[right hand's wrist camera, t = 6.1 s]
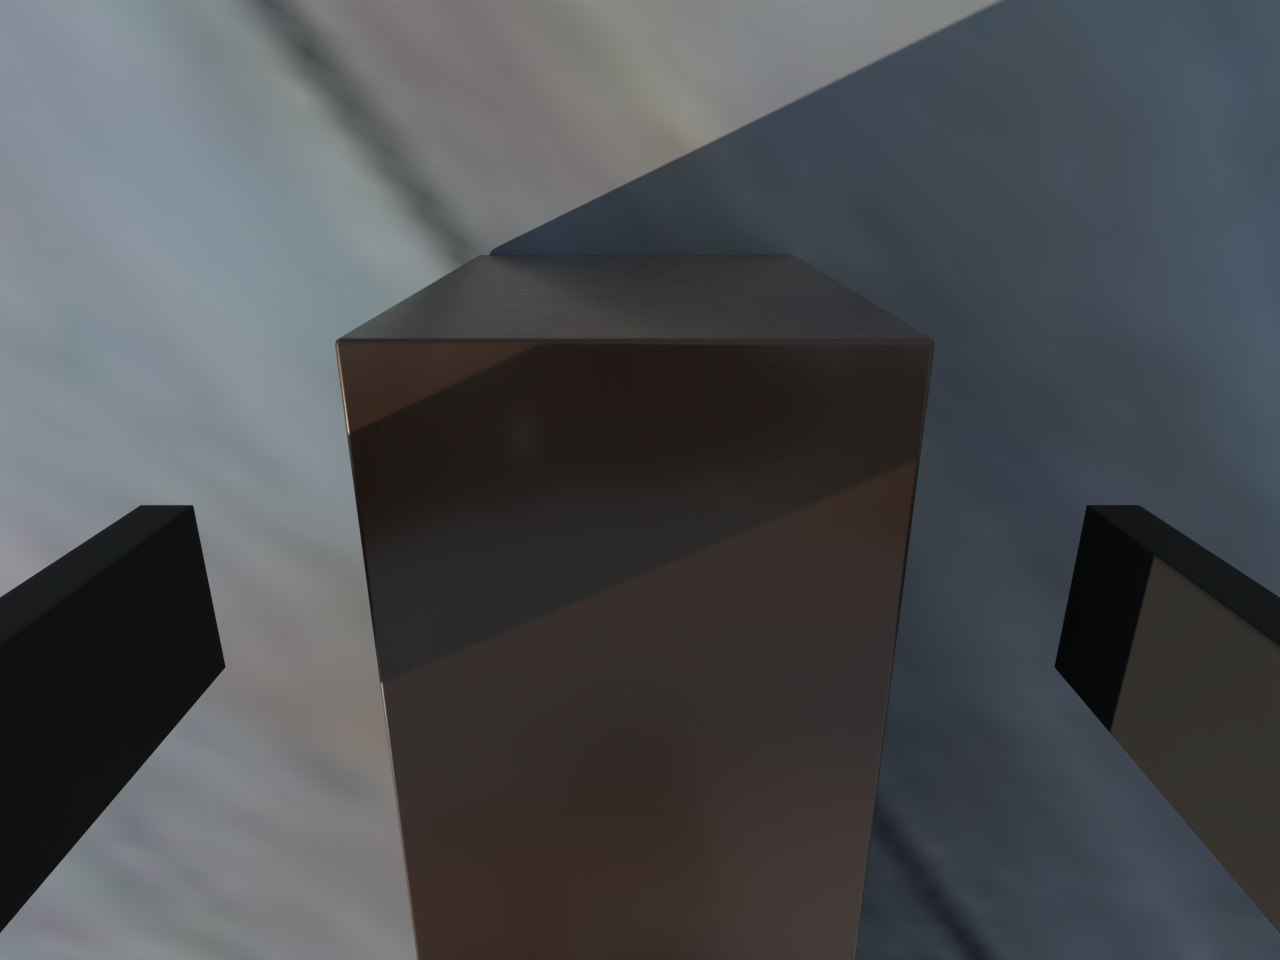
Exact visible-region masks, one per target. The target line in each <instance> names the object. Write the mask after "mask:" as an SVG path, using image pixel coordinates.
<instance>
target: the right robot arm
mask: <svg viewBox="0 0 1280 960" xmlns="http://www.w3.org/2000/svg"><path fill="white" fill-rule="evenodd" d="M224 668H225V663H224V658H223V653H222V648H221V643H220V638H219V633H218V628H217V623H216V618H215V613H214V608H213V603H212V598H211V593H210V588H209V583H208V578H207V573H206V568H205V563H204V558H203V553H202V548H201V543H200V538H199V533H198V528H197V523H196V518H195V513H194V508H193V505H141V506H139V507H138V508H136V509H135V510H133V511H131V512H130V513H128V514H127V515H125V516H124V517H122V518H121V519H119V520H118V521H116V522H115V523H113V524H112V525H110V526H109V527H107V528H106V529H104V530H103V531H101V532H99V533H98V534H96V535H95V536H93V537H92V538H90V539H89V540H87V541H86V542H84V543H83V544H81V545H80V546H78V547H77V548H75V549H74V550H72V551H71V552H69V553H67V554H66V555H64V556H63V557H61V558H60V559H58V560H57V561H55V562H54V563H52V564H51V565H49V566H48V567H46V568H45V569H43V570H42V571H40V572H38V573H37V574H35V575H34V576H32V577H31V578H29V579H28V580H26V581H25V582H23V583H22V584H20V585H19V586H17V587H16V588H14V589H13V590H11V591H10V592H8V593H6V594H5V595H3V596H2V597H0V932H1V931H2V930H3V929H4V928H5V927H6V925H7V924H8V923H9V922H10V921H11V919H12V918H13V917H14V916H15V915H16V914H17V912H18V911H19V910H20V909H21V908H22V906H23V905H24V904H25V903H26V902H27V901H28V899H29V898H30V897H31V896H32V895H33V893H34V892H35V891H36V890H37V889H38V888H39V886H40V885H41V884H42V883H43V882H44V881H45V879H46V878H47V877H48V876H49V875H50V873H51V872H52V871H53V870H54V869H55V868H56V866H57V865H58V864H59V863H60V862H61V860H62V859H63V858H64V857H65V856H66V855H67V853H68V852H69V851H70V850H71V849H72V847H73V846H74V845H75V844H76V843H77V842H78V840H79V839H80V838H81V837H82V836H83V835H84V833H85V832H86V831H87V830H88V829H89V827H90V826H91V825H92V824H93V823H94V822H95V820H96V819H97V818H98V817H99V816H100V814H101V813H102V812H103V811H104V810H105V809H106V807H107V806H108V805H109V804H110V803H111V801H112V800H113V799H114V798H115V797H116V796H117V794H118V793H119V792H120V791H121V790H122V789H123V787H124V786H125V785H126V784H127V783H128V781H129V780H130V779H131V778H132V777H133V776H134V774H135V773H136V772H137V771H138V770H139V768H140V767H141V766H142V765H143V764H144V763H145V761H146V760H147V759H148V758H149V757H150V755H151V754H152V753H153V752H154V751H155V750H156V748H157V747H158V746H159V745H160V744H161V742H162V741H163V740H164V739H165V738H166V737H167V735H168V734H169V733H170V732H171V731H172V730H173V728H174V727H175V726H176V725H177V724H178V722H179V721H180V720H181V719H182V718H183V717H184V715H185V714H186V713H187V712H188V711H189V709H190V708H191V707H192V706H193V705H194V704H195V702H196V701H197V700H198V699H199V698H200V696H201V695H202V694H203V693H204V692H205V691H206V689H207V688H208V687H209V686H210V685H211V684H212V682H213V681H214V680H215V679H216V678H217V676H218V675H219V674H220V673H221V672H222V671H223V669H224ZM1055 668H1056V669H1057V671H1058V672H1059V673H1060V674H1061V675H1062V676H1063V678H1064V679H1065V680H1066V681H1067V682H1068V684H1069V685H1070V686H1071V687H1072V688H1073V689H1074V691H1075V692H1076V693H1077V694H1078V695H1079V696H1080V698H1081V699H1082V700H1083V701H1084V702H1085V704H1086V705H1087V706H1088V707H1089V708H1090V709H1091V711H1092V712H1093V713H1094V714H1095V715H1096V717H1097V718H1098V719H1099V720H1100V721H1101V722H1102V724H1103V725H1104V726H1105V727H1106V728H1107V730H1108V731H1109V732H1110V733H1111V734H1112V735H1113V737H1114V738H1115V739H1116V740H1117V741H1118V742H1119V744H1120V745H1121V746H1122V747H1123V748H1124V750H1125V751H1126V752H1127V753H1128V754H1129V755H1130V757H1131V758H1132V759H1133V760H1134V761H1135V763H1136V764H1137V765H1138V766H1139V767H1140V768H1141V770H1142V771H1143V772H1144V773H1145V774H1146V776H1147V777H1148V778H1149V779H1150V780H1151V781H1152V783H1153V784H1154V785H1155V786H1156V787H1157V789H1158V790H1159V791H1160V792H1161V793H1162V794H1163V796H1164V797H1165V798H1166V799H1167V800H1168V801H1169V803H1170V804H1171V805H1172V806H1173V807H1174V809H1175V810H1176V811H1177V812H1178V813H1179V814H1180V816H1181V817H1182V818H1183V819H1184V820H1185V822H1186V823H1187V824H1188V825H1189V826H1190V827H1191V829H1192V830H1193V831H1194V832H1195V833H1196V835H1197V836H1198V837H1199V838H1200V839H1201V840H1202V842H1203V843H1204V844H1205V845H1206V846H1207V847H1208V849H1209V850H1210V851H1211V852H1212V853H1213V855H1214V856H1215V857H1216V858H1217V859H1218V860H1219V862H1220V863H1221V864H1222V865H1223V866H1224V868H1225V869H1226V870H1227V871H1228V872H1229V873H1230V875H1231V876H1232V877H1233V878H1234V879H1235V881H1236V882H1237V883H1238V884H1239V885H1240V886H1241V888H1242V889H1243V890H1244V891H1245V892H1246V893H1247V895H1248V896H1249V897H1250V898H1251V899H1252V901H1253V902H1254V903H1255V904H1256V905H1257V906H1258V908H1259V909H1260V910H1261V911H1262V912H1263V914H1264V915H1265V916H1266V917H1267V918H1268V919H1269V921H1270V922H1271V923H1272V924H1273V925H1274V927H1275V928H1276V929H1277V930H1278V931H1279V932H1280V597H1278V596H1277V595H1275V594H1274V593H1272V592H1270V591H1269V590H1267V589H1266V588H1264V587H1263V586H1261V585H1260V584H1258V583H1257V582H1255V581H1254V580H1252V579H1251V578H1249V577H1248V576H1246V575H1245V574H1243V573H1242V572H1240V571H1238V570H1237V569H1235V568H1234V567H1232V566H1231V565H1229V564H1228V563H1226V562H1225V561H1223V560H1222V559H1220V558H1219V557H1217V556H1216V555H1214V554H1213V553H1211V552H1209V551H1208V550H1206V549H1205V548H1203V547H1202V546H1200V545H1199V544H1197V543H1196V542H1194V541H1193V540H1191V539H1190V538H1188V537H1187V536H1185V535H1184V534H1182V533H1181V532H1179V531H1177V530H1176V529H1174V528H1173V527H1171V526H1170V525H1168V524H1167V523H1165V522H1164V521H1162V520H1161V519H1159V518H1158V517H1156V516H1155V515H1153V514H1152V513H1150V512H1149V511H1147V510H1145V509H1144V508H1142V507H1141V506H1139V505H1087V508H1086V513H1085V518H1084V523H1083V528H1082V533H1081V538H1080V543H1079V548H1078V553H1077V558H1076V563H1075V568H1074V573H1073V578H1072V583H1071V588H1070V593H1069V598H1068V603H1067V608H1066V613H1065V618H1064V623H1063V628H1062V633H1061V638H1060V643H1059V648H1058V653H1057V658H1056V663H1055Z"/></svg>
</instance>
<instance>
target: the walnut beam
mask: <svg viewBox="0 0 1280 960" xmlns="http://www.w3.org/2000/svg"><path fill="white" fill-rule="evenodd" d="M934 345H935V344H934V340H933V339H932V338H930V337H928V336H927V335H925V334H923V333H922V332H920V331H918V330H917V329H915V328H913V327H912V326H910V325H908V324H907V323H905V322H903V321H901V320H900V319H898V318H896V317H895V316H893V315H891V314H890V313H888V312H886V311H885V310H883V309H881V308H880V307H878V306H876V305H875V304H873V303H871V302H870V301H868V300H866V299H865V298H863V297H861V296H860V295H858V294H856V293H855V292H853V291H851V290H850V289H848V288H846V287H845V286H843V285H841V284H840V283H838V282H836V281H835V280H833V279H831V278H830V277H828V276H826V275H825V274H823V273H821V272H819V271H818V270H816V269H814V268H813V267H811V266H809V265H808V264H806V263H804V262H803V261H801V260H799V259H798V258H796V257H794V256H792V255H480V256H478V257H476V258H474V259H473V260H471V261H469V262H468V263H466V264H464V265H463V266H461V267H459V268H457V269H456V270H454V271H452V272H451V273H449V274H447V275H446V276H444V277H442V278H441V279H439V280H437V281H435V282H434V283H432V284H430V285H429V286H427V287H425V288H424V289H422V290H420V291H418V292H417V293H415V294H413V295H412V296H410V297H408V298H407V299H405V300H403V301H401V302H400V303H398V304H396V305H395V306H393V307H391V308H390V309H388V310H386V311H385V312H383V313H381V314H379V315H378V316H376V317H374V318H373V319H371V320H369V321H368V322H366V323H364V324H362V325H361V326H359V327H357V328H356V329H354V330H352V331H351V332H349V333H347V334H345V335H344V336H342V337H340V338H339V339H337V340H336V343H335V348H336V355H337V363H338V370H339V378H340V385H341V393H342V400H343V408H344V415H345V423H346V430H347V438H348V445H349V453H350V460H351V468H352V475H353V483H354V490H355V498H356V505H357V513H358V520H359V528H360V535H361V543H362V550H363V558H364V565H365V573H366V580H367V588H368V595H369V602H370V610H371V617H372V625H373V632H374V640H375V647H376V655H377V662H378V670H379V677H380V685H381V692H382V700H383V707H384V715H385V722H386V730H387V737H388V745H389V752H390V760H391V767H392V775H393V782H394V790H395V797H396V805H397V812H398V820H399V827H400V835H401V842H402V850H403V857H404V865H405V872H406V880H407V887H408V895H409V902H410V910H411V917H412V925H413V932H414V940H415V947H416V955H417V960H855V958H856V950H857V942H858V934H859V927H860V919H861V911H862V903H863V896H864V888H865V880H866V872H867V865H868V857H869V849H870V841H871V834H872V826H873V818H874V810H875V803H876V795H877V787H878V779H879V772H880V764H881V756H882V748H883V741H884V733H885V725H886V717H887V710H888V702H889V694H890V686H891V679H892V671H893V663H894V655H895V648H896V640H897V632H898V624H899V617H900V609H901V601H902V593H903V586H904V578H905V570H906V562H907V554H908V547H909V539H910V531H911V523H912V516H913V508H914V500H915V492H916V485H917V477H918V469H919V461H920V454H921V446H922V438H923V430H924V423H925V415H926V407H927V399H928V392H929V384H930V376H931V368H932V361H933V353H934Z"/></svg>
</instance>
